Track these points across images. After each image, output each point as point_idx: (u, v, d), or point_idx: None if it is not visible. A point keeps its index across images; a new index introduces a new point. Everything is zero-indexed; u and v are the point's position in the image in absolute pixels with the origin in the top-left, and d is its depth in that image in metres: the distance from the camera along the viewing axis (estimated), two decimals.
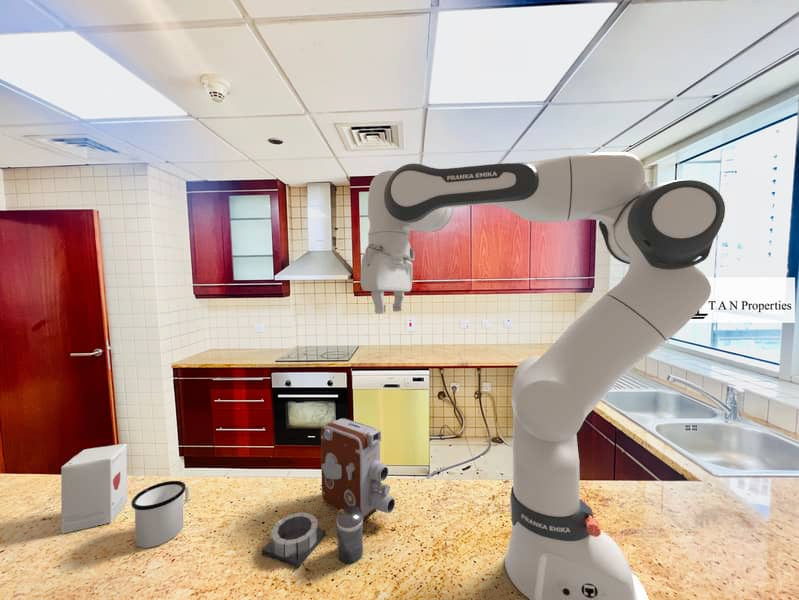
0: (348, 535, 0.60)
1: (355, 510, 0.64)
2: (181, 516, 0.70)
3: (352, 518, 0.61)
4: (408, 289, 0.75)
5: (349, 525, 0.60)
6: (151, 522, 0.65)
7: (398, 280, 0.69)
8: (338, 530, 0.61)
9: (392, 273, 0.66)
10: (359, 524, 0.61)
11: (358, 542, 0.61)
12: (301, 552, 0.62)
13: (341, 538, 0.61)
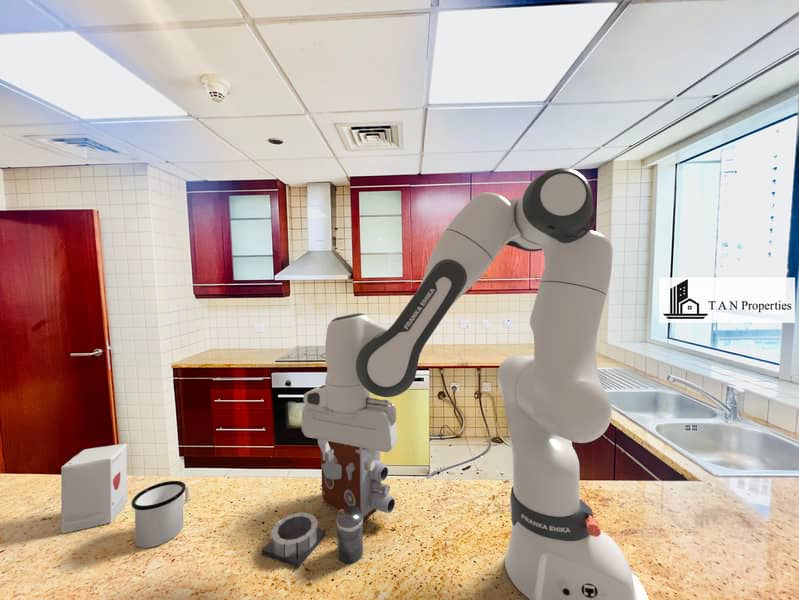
0: (348, 535, 0.60)
1: (355, 510, 0.64)
2: (181, 516, 0.70)
3: (352, 518, 0.61)
4: None
5: (349, 525, 0.60)
6: (151, 522, 0.65)
7: None
8: (338, 530, 0.61)
9: None
10: (359, 524, 0.61)
11: (358, 542, 0.61)
12: (301, 552, 0.62)
13: (341, 538, 0.61)
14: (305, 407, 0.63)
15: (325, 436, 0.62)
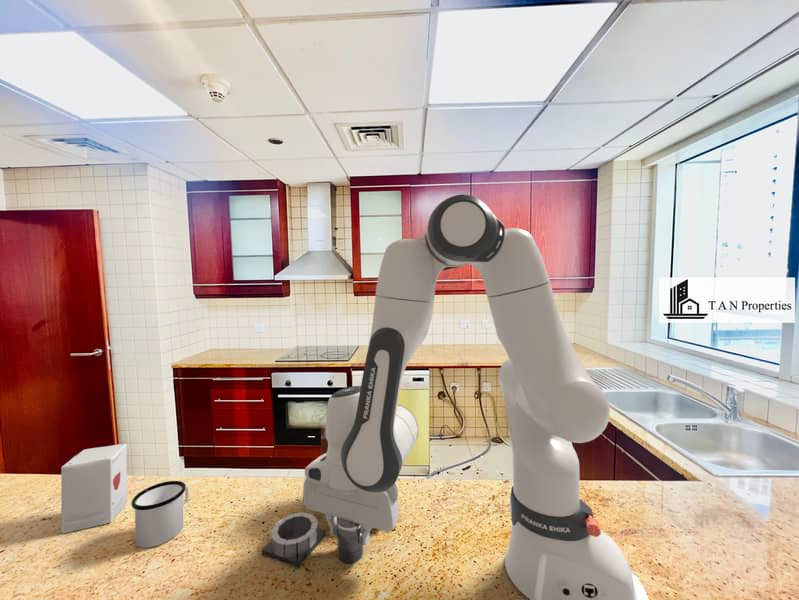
0: (348, 535, 0.60)
1: None
2: (181, 516, 0.70)
3: None
4: None
5: (349, 525, 0.60)
6: (151, 522, 0.65)
7: None
8: (338, 530, 0.61)
9: None
10: (359, 524, 0.61)
11: (358, 542, 0.61)
12: (301, 552, 0.62)
13: (341, 538, 0.61)
14: (306, 481, 0.63)
15: (327, 510, 0.63)
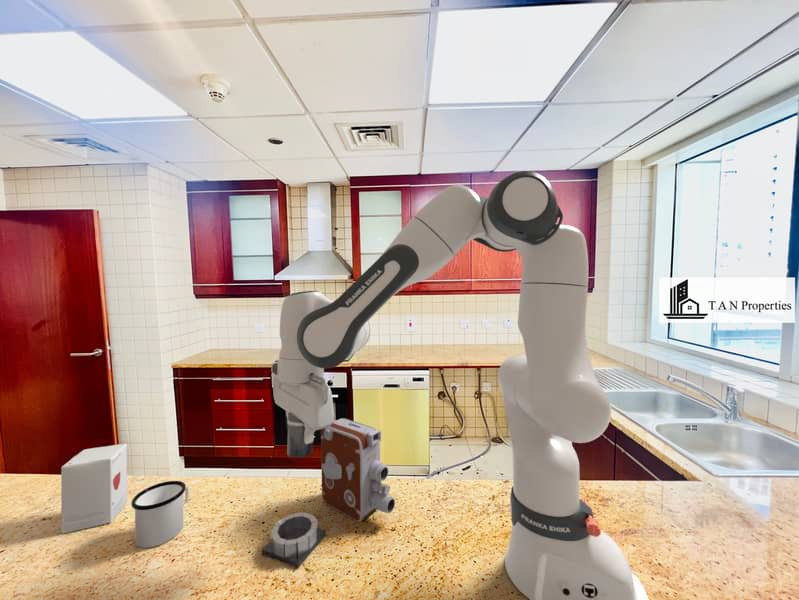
0: (292, 429, 0.62)
1: None
2: (181, 516, 0.70)
3: None
4: None
5: (293, 419, 0.62)
6: (151, 522, 0.65)
7: None
8: (288, 424, 0.64)
9: None
10: (303, 422, 0.62)
11: (301, 439, 0.62)
12: (301, 552, 0.62)
13: None
14: (273, 376, 0.69)
15: (284, 406, 0.66)
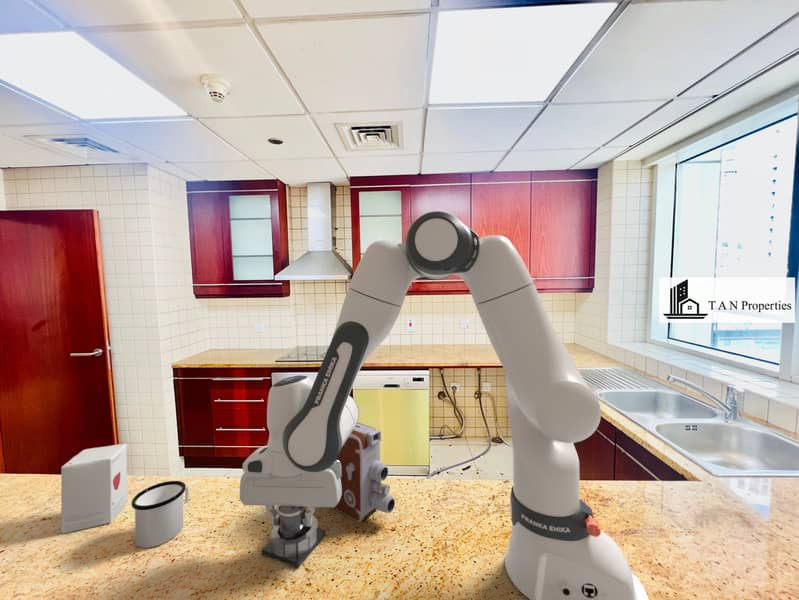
0: (292, 520, 0.62)
1: None
2: (181, 516, 0.70)
3: None
4: None
5: (292, 511, 0.62)
6: (151, 522, 0.65)
7: None
8: (281, 517, 0.62)
9: None
10: (302, 508, 0.63)
11: (301, 525, 0.63)
12: (301, 552, 0.62)
13: (284, 524, 0.62)
14: (244, 476, 0.62)
15: (267, 501, 0.63)
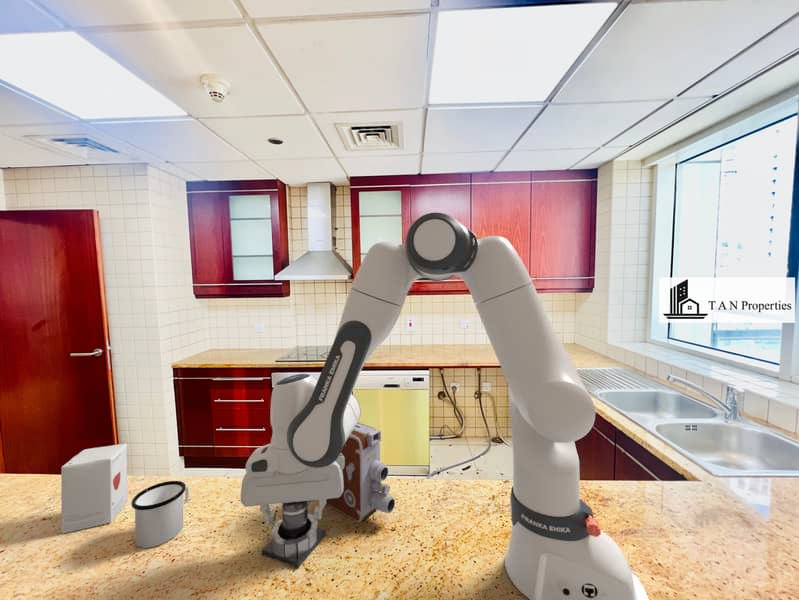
0: (297, 518, 0.64)
1: None
2: (181, 516, 0.70)
3: (299, 502, 0.65)
4: None
5: (298, 508, 0.64)
6: (151, 522, 0.65)
7: None
8: (285, 517, 0.64)
9: None
10: (306, 505, 0.65)
11: (305, 523, 0.65)
12: (301, 552, 0.62)
13: (289, 523, 0.63)
14: (247, 477, 0.62)
15: (271, 500, 0.63)
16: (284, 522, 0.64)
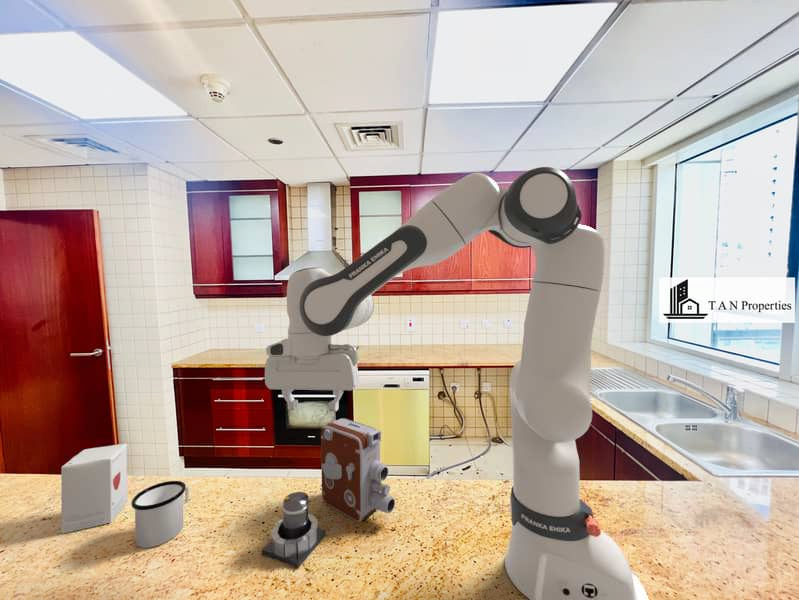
0: (298, 518, 0.64)
1: (300, 495, 0.67)
2: (181, 516, 0.70)
3: (300, 501, 0.65)
4: None
5: (299, 508, 0.64)
6: (151, 522, 0.65)
7: None
8: (286, 516, 0.64)
9: None
10: (307, 505, 0.65)
11: (305, 523, 0.65)
12: (301, 552, 0.62)
13: (289, 523, 0.63)
14: (268, 360, 0.66)
15: (289, 385, 0.66)
16: (285, 521, 0.64)
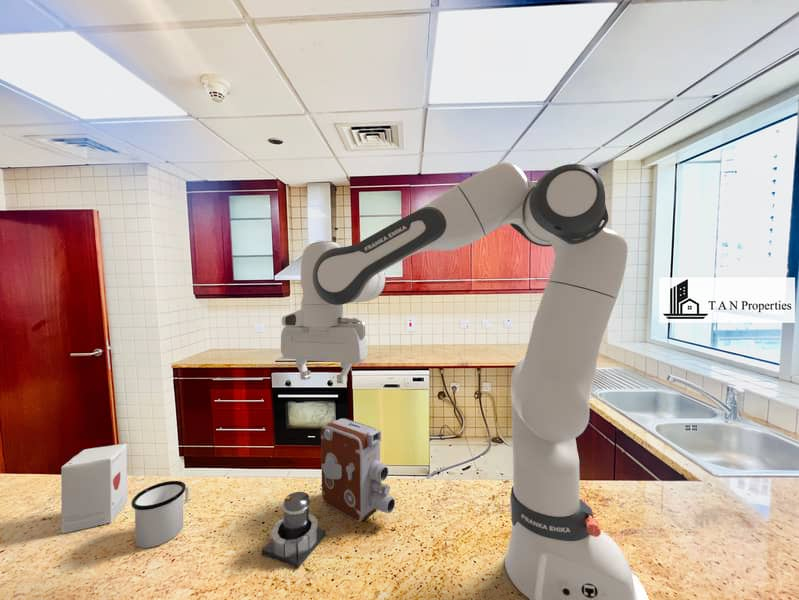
0: (298, 518, 0.64)
1: (301, 495, 0.67)
2: (181, 516, 0.70)
3: (301, 501, 0.65)
4: None
5: (299, 508, 0.64)
6: (151, 522, 0.65)
7: None
8: (286, 516, 0.64)
9: None
10: (307, 506, 0.65)
11: (305, 523, 0.65)
12: (301, 552, 0.62)
13: (289, 522, 0.63)
14: (283, 330, 0.69)
15: (302, 355, 0.68)
16: (285, 521, 0.64)
